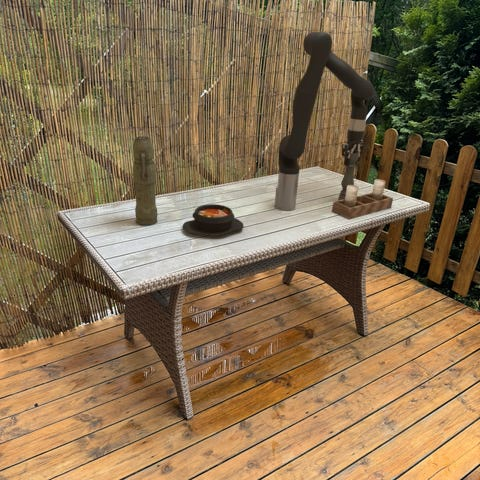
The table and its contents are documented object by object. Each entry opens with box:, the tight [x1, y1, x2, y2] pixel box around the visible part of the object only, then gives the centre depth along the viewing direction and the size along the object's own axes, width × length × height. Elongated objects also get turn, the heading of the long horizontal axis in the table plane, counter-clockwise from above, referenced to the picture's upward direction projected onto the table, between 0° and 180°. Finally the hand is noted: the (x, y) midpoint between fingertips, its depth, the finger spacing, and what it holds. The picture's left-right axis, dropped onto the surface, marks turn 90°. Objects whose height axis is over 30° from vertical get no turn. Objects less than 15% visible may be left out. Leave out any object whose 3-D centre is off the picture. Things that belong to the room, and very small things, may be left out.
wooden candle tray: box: [331, 178, 394, 220], centre depth 199 cm, size 30×10×13 cm, turn 124°
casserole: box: [182, 203, 244, 236], centre depth 171 cm, size 25×19×8 cm
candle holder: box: [337, 151, 359, 201], centre depth 205 cm, size 6×6×25 cm
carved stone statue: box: [132, 136, 158, 227], centre depth 170 cm, size 9×12×35 cm
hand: (350, 164), depth 202 cm, fingers closed on candle holder, 5 cm apart
